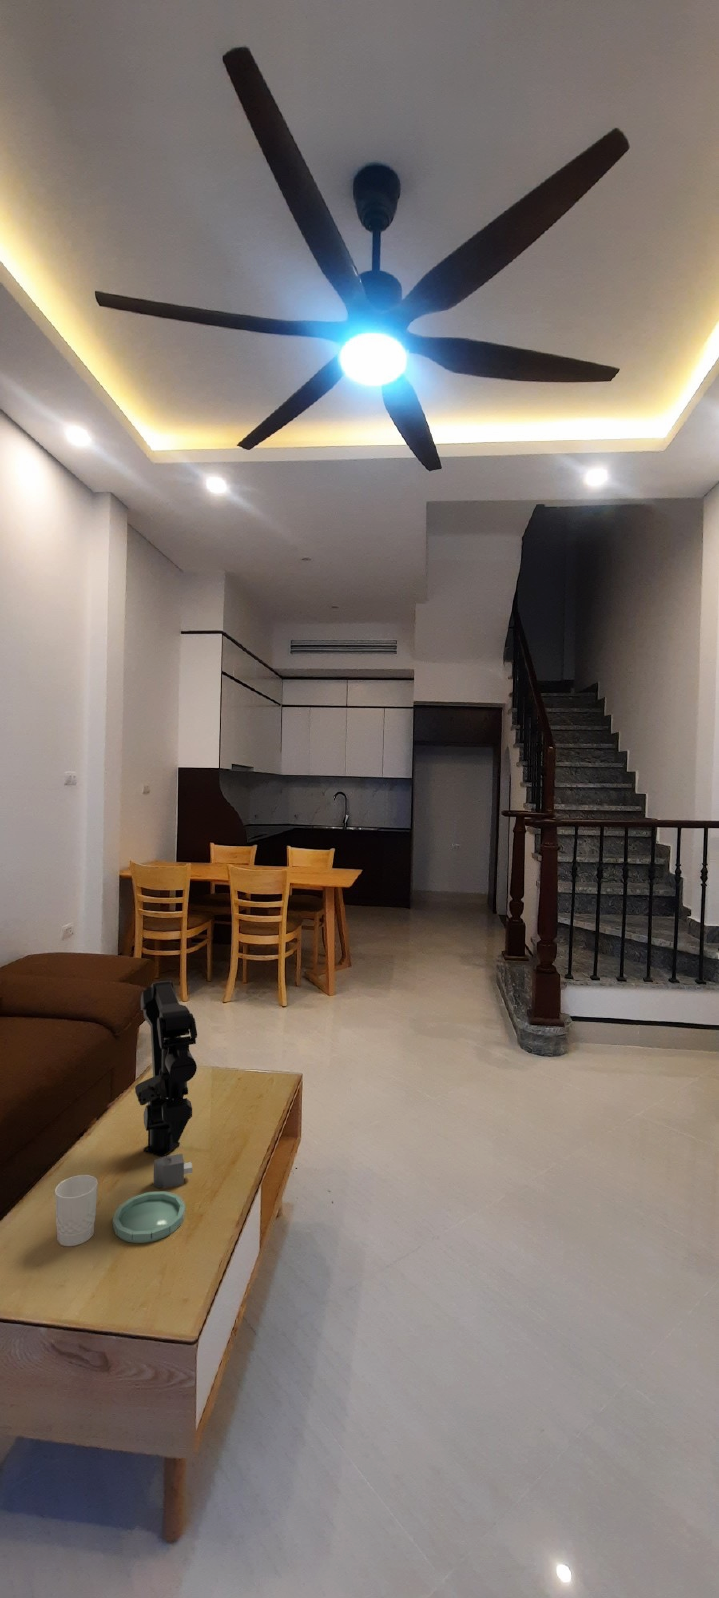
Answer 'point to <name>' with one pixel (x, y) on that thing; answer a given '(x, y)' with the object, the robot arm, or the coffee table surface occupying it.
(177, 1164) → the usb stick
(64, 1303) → the coffee table surface
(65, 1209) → the white cup
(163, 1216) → the dish
